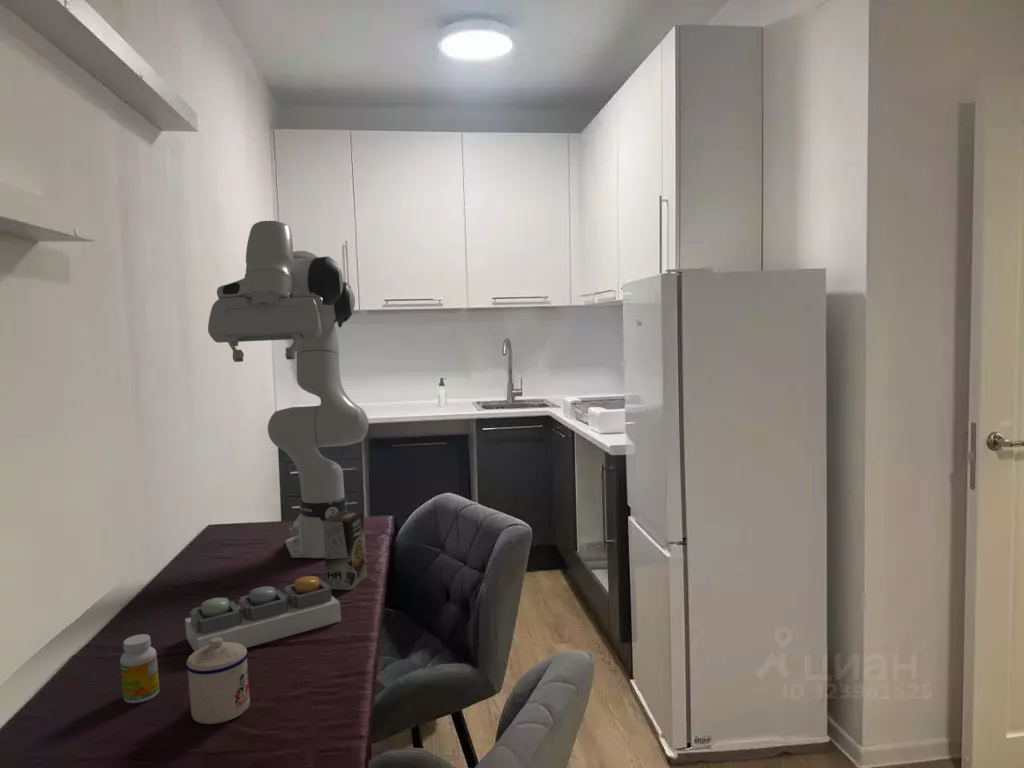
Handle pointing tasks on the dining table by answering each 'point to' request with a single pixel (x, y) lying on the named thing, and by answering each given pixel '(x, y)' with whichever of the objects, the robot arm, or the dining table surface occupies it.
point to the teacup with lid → (218, 682)
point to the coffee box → (345, 549)
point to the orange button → (306, 584)
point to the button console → (265, 618)
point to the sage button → (214, 607)
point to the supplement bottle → (139, 669)
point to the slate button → (262, 595)
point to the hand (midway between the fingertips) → (264, 359)
